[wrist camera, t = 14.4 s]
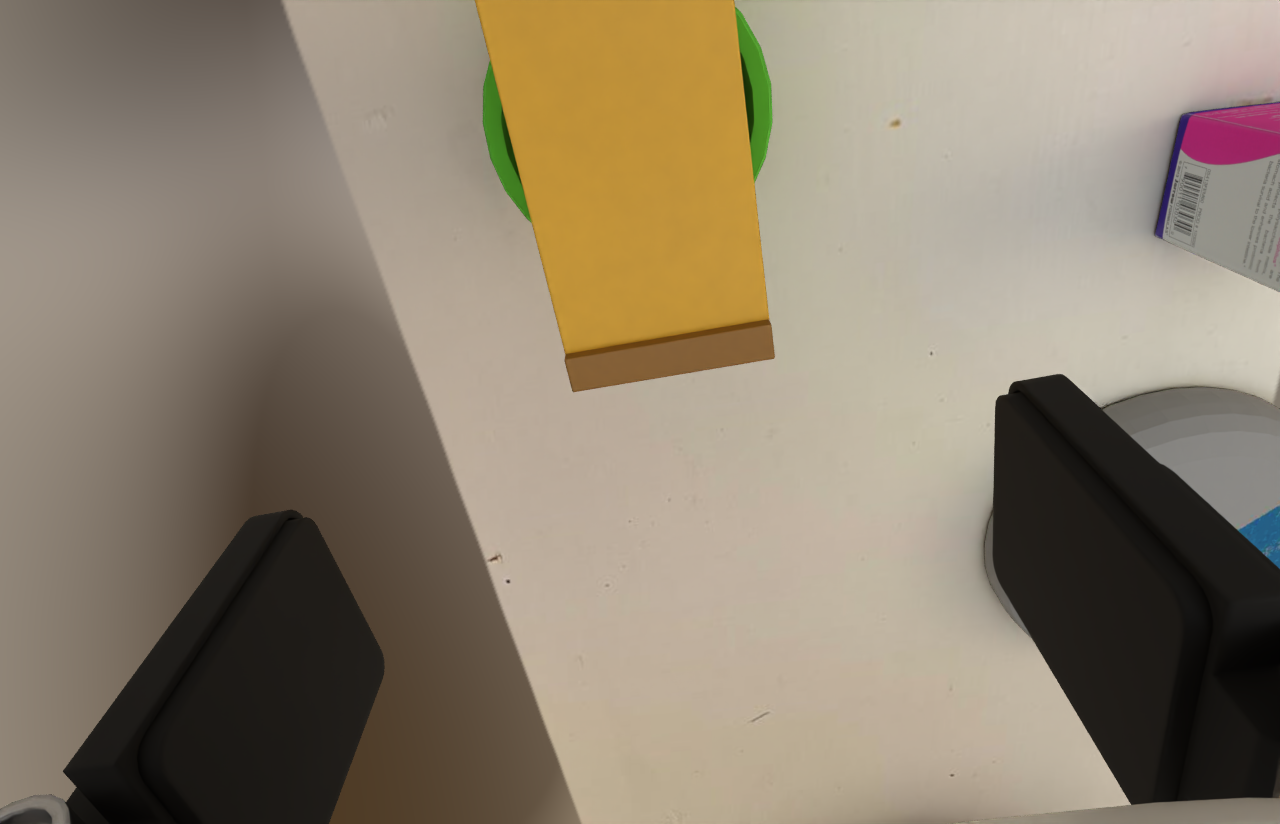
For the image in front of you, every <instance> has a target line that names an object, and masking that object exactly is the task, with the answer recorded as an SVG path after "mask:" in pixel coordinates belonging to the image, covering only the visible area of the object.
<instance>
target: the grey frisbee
mask: <svg viewBox="0 0 1280 824" xmlns="http://www.w3.org/2000/svg"><path fill="white" fill-rule="evenodd" d="M1102 410H1103V411H1104V412H1105V413H1106V414H1107V415H1108V416H1109V417H1110V418H1111V419H1112V420H1114V421H1115V422H1116V423H1117V424H1118V425H1119V426H1120V427H1121V428H1122V429H1123V430H1124V431H1125V432H1127V433H1128V434H1129V435H1130V436H1131V437H1132V438H1133V439H1134V440H1135V441H1136V442H1137V443H1138V444H1139V445H1141V446H1142V447H1143V448H1144V449H1145V450H1146V451H1147V452H1148V453H1149V454H1150V455H1151V456H1152V457H1153V458H1155V459H1156V460H1157V461H1158V462H1159V463H1160V464H1164V465H1165V466H1166V467H1168V468H1169V469H1171V470H1172V471H1174V472H1175V473H1176V474H1177V475H1178V476H1179V477H1180V478H1181V479H1183V480H1184V481H1185V482H1186V483H1187V484H1188V485H1189V486H1190V487H1191V488H1192V489H1193V490H1195V491H1196V492H1197V493H1198V494H1199V495H1200V496H1201V497H1202V498H1203V499H1204V500H1205V501H1207V502H1208V503H1209V504H1210V505H1211V506H1212V507H1213V508H1214V509H1215V510H1216V511H1217V512H1218V513H1220V514H1221V515H1222V516H1223V517H1224V518H1225V519H1226V520H1227V521H1228V522H1229V523H1230V524H1232V525H1233V526H1234V527H1235V528H1236V529H1237V530H1238V531H1239V532H1240V533H1241V534H1242V535H1244V536H1245V537H1246V538H1247V539H1248V540H1249V541H1250V542H1251V543H1252V544H1253V545H1254V546H1256V547H1257V548H1258V549H1259V550H1260V551H1261V552H1262V553H1263V554H1264V555H1265V556H1266V557H1267V558H1269V559H1270V560H1271V561H1272V562H1273V563H1274V564H1275V565H1276V566H1277V567H1278V568H1279V569H1280V408H1278V407H1276V406H1274V405H1272V404H1270V403H1269V402H1267V401H1265V400H1263V399H1261V398H1259V397H1256V396H1252V395H1249V394H1246V393H1242V392H1239V391H1235V390H1227V389H1218V388H1208V387H1195V388H1178V389H1169V390H1164V391H1159V392H1154V393H1149V394H1144V395H1140V396H1137V397H1134V398H1131V399H1128V400H1125V401H1122V402H1119V403H1116V404H1113V405H1110V406H1108V407H1106V408H1104V409H1102ZM992 548H993V514H992V516H991V519H990V521H989V525H988V530H987V535H986V540H985V567H986V571H987V574H988V578H989V582H990V585H991V586H992V588H993V590H994V592H995V593H996V595H997V597H998V598H999V600H1000V602H1001V604H1002V605H1003V607H1004V609H1005V610H1006V612H1007V613H1008V614H1009V616H1010V617H1011V618H1012V619H1013V620H1014V621H1015V622H1016V623H1017V624H1018V625H1019V626H1020V627H1021V628H1022V630H1023V631H1024V632H1025V633H1027V634H1028V635H1029V636H1030V634H1029V632H1028V631H1027V629H1026V627H1025V626H1024V624H1023V622H1022V621H1021V619H1020V617H1019V616H1018V614H1017V612H1016V611H1015V609H1014V607H1013V605H1012V604H1011V602H1010V600H1009V599H1008V597H1007V595H1006V594H1005V592H1004V590H1003V589H1002V587H1001V585H1000V583H999V581H998V579H997V576H996V573H995V570H994V565H993V557H992ZM1030 637H1031V636H1030ZM1031 638H1032V637H1031Z"/></svg>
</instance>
